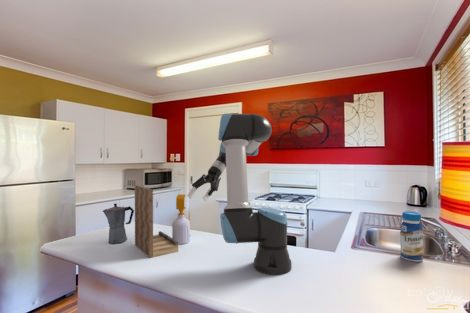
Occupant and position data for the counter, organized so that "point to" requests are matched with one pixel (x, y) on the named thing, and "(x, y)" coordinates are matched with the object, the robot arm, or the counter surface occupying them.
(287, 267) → the robot arm
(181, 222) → the soap bottle
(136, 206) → the cleat shelf
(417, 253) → the beverage bottle
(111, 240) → the moka pot
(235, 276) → the counter surface
